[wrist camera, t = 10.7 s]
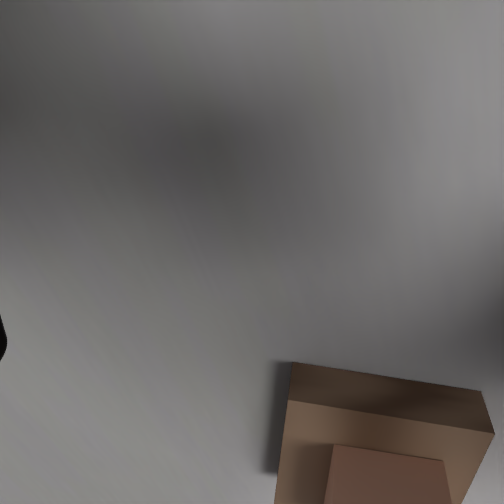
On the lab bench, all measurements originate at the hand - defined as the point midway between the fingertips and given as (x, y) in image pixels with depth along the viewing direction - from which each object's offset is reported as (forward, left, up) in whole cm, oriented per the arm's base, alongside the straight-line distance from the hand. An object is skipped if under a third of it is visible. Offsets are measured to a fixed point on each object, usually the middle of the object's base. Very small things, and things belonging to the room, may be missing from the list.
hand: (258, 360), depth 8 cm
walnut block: (-5, +16, -13) cm, 21 cm away
